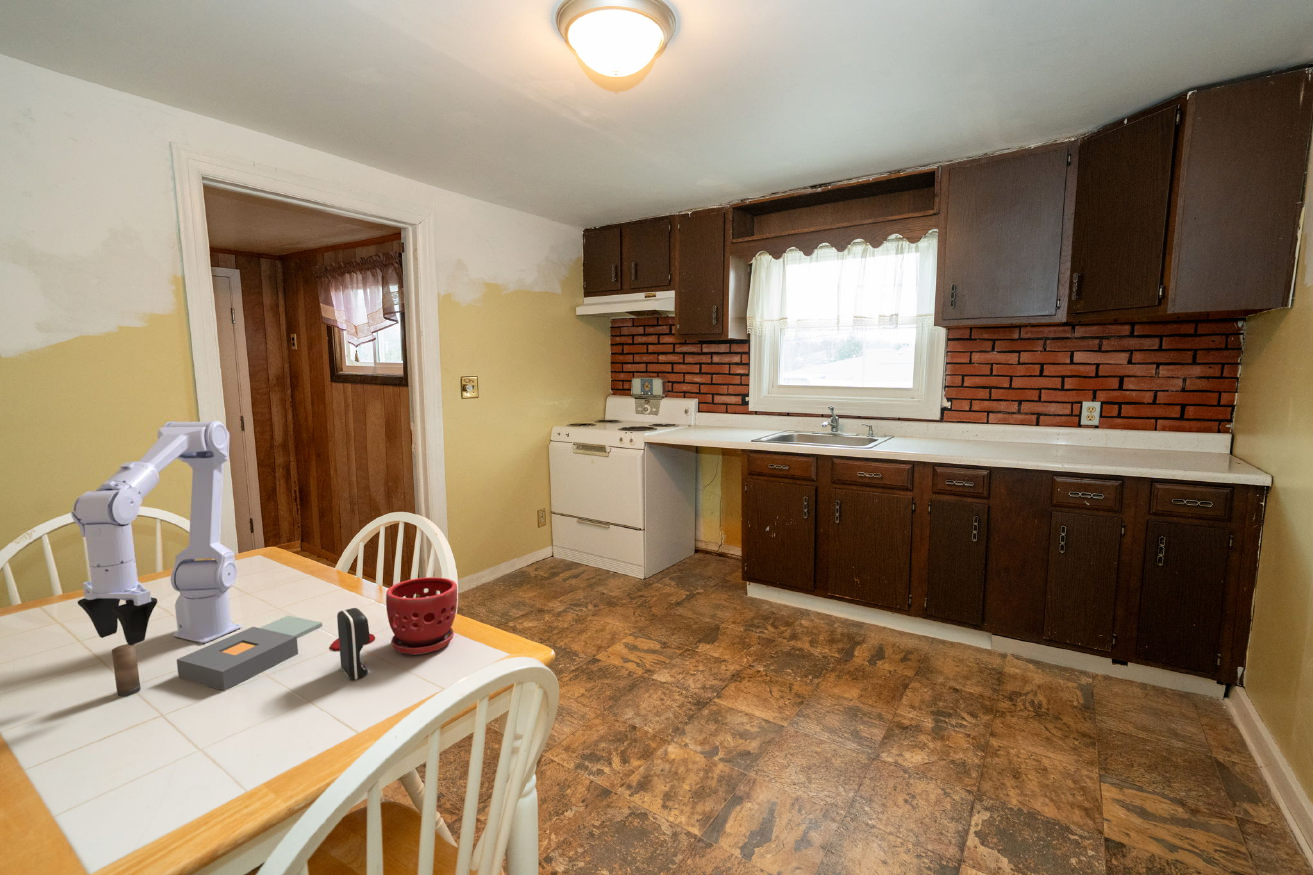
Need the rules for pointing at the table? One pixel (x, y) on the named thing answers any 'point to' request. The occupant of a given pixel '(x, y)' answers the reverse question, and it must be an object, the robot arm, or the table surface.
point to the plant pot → (421, 614)
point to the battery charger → (352, 641)
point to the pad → (293, 626)
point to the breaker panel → (237, 658)
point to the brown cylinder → (126, 670)
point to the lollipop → (336, 647)
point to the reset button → (238, 648)
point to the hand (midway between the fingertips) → (122, 638)
